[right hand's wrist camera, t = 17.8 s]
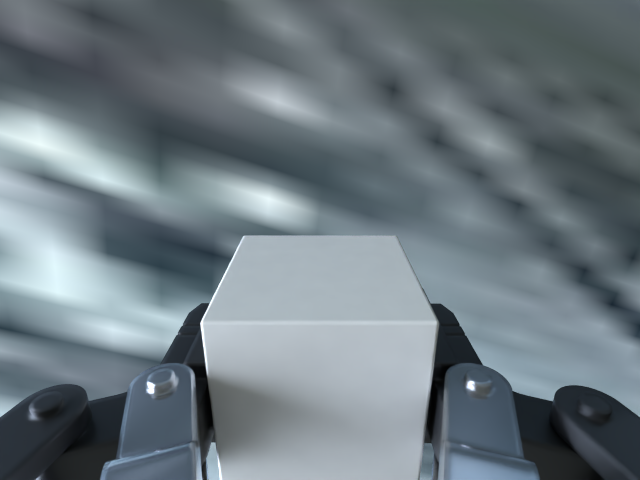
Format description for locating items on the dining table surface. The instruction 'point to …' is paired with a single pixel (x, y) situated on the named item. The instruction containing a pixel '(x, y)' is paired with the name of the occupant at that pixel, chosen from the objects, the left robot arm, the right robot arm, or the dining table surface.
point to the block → (319, 360)
